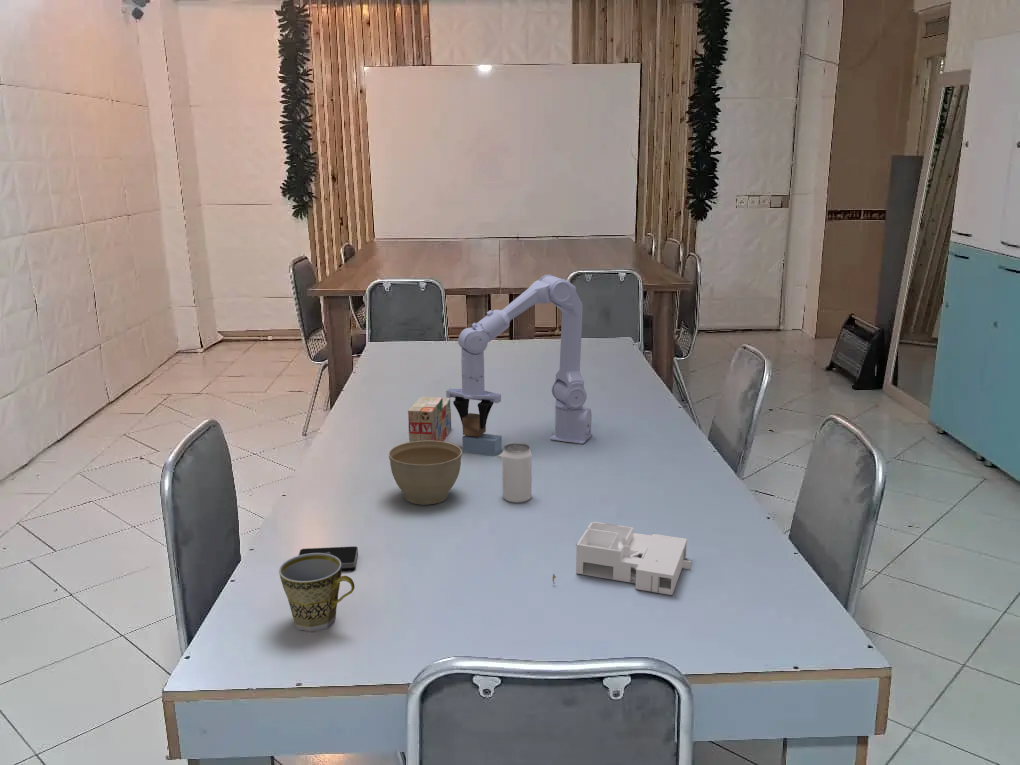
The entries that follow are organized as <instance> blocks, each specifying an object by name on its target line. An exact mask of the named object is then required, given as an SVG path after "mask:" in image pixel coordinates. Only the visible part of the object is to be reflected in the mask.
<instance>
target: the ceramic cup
mask: <svg viewBox="0 0 1020 765" xmlns="http://www.w3.org/2000/svg"><path fill="white" fill-rule="evenodd" d="M298 555H299V554H298ZM298 555H296V556H294V557H291V558H289V559H288V560H285V562H283V563H282V564H281V566H280V567H279V570H278V574H279V578H280V581H281V585H282V587H283V590H284V593H285V595H286V597H287V601H288V604H289V608H290V611H291V616H292V620H293V622H294V625H295V627H296V629H297V630H301V631H306V632H308V633H309V632H310V633H312V632H317V631H321V630H326V629H328V628H330V627H331V626H332V625H333V624H334V622H336V618H337V616H336V615H337V608H338V604H339V603H340V602H341V601H342V600H344V598H346V597H347V596H349V595H351V594H352V593H353V592H354V590H355V588H356V587H355V582H354V580H353V579H352V578H351V577H350V576H348V575H342V572H343V571H342V562H341V560H340V559H339V558H337V557H336V556H333V555H331V554H326V553H309V554H303V555H299V556H298ZM341 582H347V583H349V584H350V587H351V589H350V590H349V591H348V592H346V593H344V594H343V595H341V596H340V598H339V593H340V592H339V591H340V587H341Z"/></svg>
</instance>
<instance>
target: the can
mask: <svg viewBox="0 0 1020 765" xmlns="http://www.w3.org/2000/svg"><path fill="white" fill-rule="evenodd" d="M502 452H503V455H502V457H501V459H502V470H501V471H502V475H501V476H502V478H501V479H502V498H503V500H505V501H506V502H509V503H514V504H521V503H525V502H528V501H529V500H530V499H531V498H532V488H533V487H532V483H533V482H532V478H533V476H532V475H533V474H532V470H533V469H532V467H533V465H532V464H533V463H532V461H533V460H532V457H533V456H532V452H531V449H530V446H529V444H526V443H520V442H514V443H508V444H506V445H505V446H504V447H503V451H502Z"/></svg>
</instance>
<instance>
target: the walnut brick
mask: <svg viewBox="0 0 1020 765" xmlns="http://www.w3.org/2000/svg"><path fill="white" fill-rule="evenodd" d="M462 423H463V426H462V436H465V435H469V436H476V437H479V436H481V435H482V434H483V433H484V434H485V433H486V432H487V427H485V428H483V429H480V415H479V413H473V412H468V415H466V416H465V417H463V418H462V422H461V424H462Z"/></svg>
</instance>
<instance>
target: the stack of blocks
mask: <svg viewBox="0 0 1020 765" xmlns="http://www.w3.org/2000/svg"><path fill="white" fill-rule="evenodd" d="M407 415H408V417H407V418H408V437H409V440H408V442H415V441H442V442H444V441H443V440H445V439H446V438H447V437H448V435H449V434H450V433H451V431H452V408H451V398H446V397H445V398H444V397H441V396H439V397H438V396H419V397H418V399H417V400H416V401H415V403H414V404H412V406H411V407H409V409H408V410H407ZM446 436H447V437H446ZM445 437H446V438H445Z"/></svg>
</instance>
